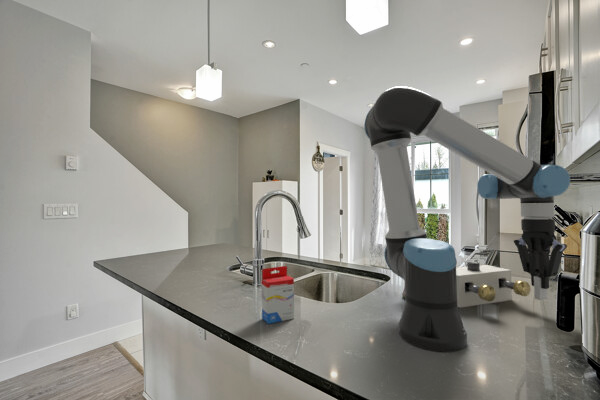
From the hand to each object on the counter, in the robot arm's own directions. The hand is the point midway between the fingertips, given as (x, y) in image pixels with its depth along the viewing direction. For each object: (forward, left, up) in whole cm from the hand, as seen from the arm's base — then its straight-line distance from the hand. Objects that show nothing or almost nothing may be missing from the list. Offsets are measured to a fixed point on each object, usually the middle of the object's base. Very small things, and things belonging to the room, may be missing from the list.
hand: (540, 298), depth 81 cm
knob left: (-14, +9, -1) cm, 17 cm away
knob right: (0, +9, -1) cm, 9 cm away
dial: (-7, +16, +6) cm, 18 cm away
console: (-7, +16, -4) cm, 18 cm away
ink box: (-74, +21, -5) cm, 77 cm away
